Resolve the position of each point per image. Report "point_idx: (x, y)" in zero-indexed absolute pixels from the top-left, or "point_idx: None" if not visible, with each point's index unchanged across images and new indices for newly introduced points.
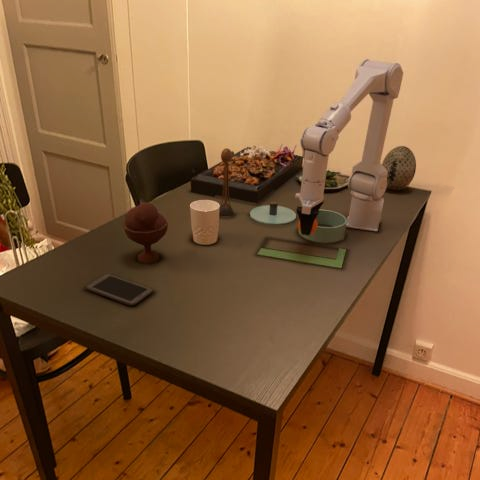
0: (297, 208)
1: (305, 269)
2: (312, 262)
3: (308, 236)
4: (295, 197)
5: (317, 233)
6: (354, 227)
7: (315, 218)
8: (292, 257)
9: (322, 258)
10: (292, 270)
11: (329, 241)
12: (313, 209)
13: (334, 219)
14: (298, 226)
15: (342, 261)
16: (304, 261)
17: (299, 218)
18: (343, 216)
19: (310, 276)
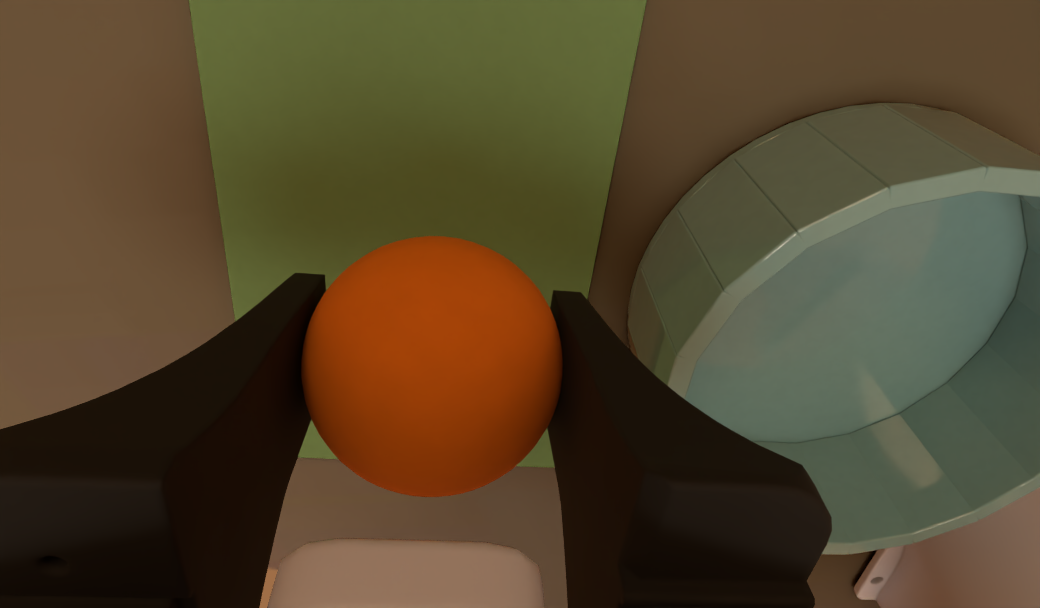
0: (4, 496)
1: (111, 234)
2: (241, 281)
3: (681, 232)
4: (289, 557)
5: (653, 333)
6: None
7: (554, 461)
8: (254, 107)
9: None
10: (22, 128)
11: None
12: (579, 532)
13: (986, 429)
14: (382, 251)
15: None
16: (227, 220)
17: (124, 390)
18: (930, 531)
19: (16, 279)
